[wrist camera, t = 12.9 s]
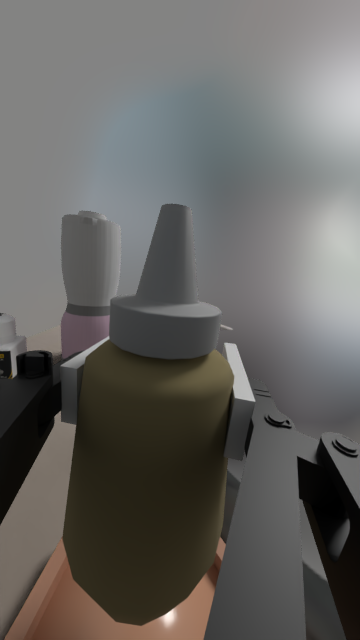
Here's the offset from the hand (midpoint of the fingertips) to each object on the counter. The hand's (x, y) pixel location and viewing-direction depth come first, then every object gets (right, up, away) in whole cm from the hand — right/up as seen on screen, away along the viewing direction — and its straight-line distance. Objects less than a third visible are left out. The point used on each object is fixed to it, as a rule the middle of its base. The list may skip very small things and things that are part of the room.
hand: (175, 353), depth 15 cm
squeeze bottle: (-2, -11, -2) cm, 11 cm away
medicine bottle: (-34, -9, +25) cm, 43 cm away
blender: (-21, -7, +36) cm, 42 cm away
